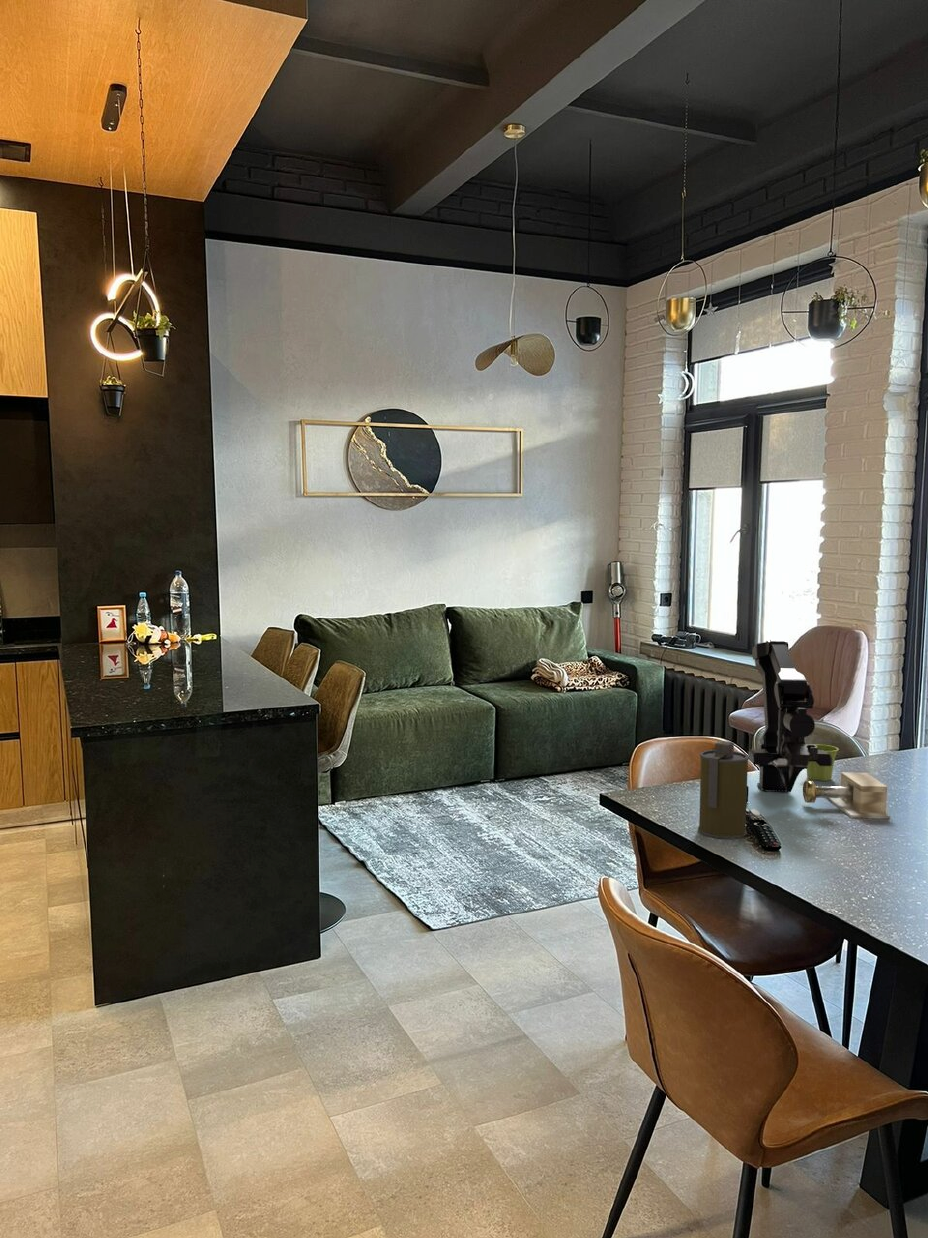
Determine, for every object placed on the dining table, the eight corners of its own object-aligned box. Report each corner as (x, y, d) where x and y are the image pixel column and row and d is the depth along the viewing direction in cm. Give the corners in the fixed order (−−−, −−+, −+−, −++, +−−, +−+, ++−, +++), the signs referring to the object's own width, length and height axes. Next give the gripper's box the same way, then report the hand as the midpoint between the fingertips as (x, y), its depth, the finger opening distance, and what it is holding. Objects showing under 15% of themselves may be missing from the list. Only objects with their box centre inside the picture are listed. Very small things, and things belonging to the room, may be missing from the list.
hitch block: (851, 817, 212) (852, 788, 211) (824, 796, 230) (825, 769, 229) (890, 818, 211) (891, 789, 211) (860, 797, 229) (861, 770, 229)
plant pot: (793, 775, 251) (794, 744, 251) (821, 773, 254) (822, 743, 254) (816, 784, 242) (817, 752, 242) (845, 781, 245) (846, 750, 245)
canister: (709, 821, 208) (712, 736, 206) (753, 831, 201) (756, 742, 200) (689, 833, 200) (691, 744, 198) (734, 843, 193) (737, 751, 191)
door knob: (809, 805, 218) (810, 784, 218) (802, 799, 224) (803, 778, 223) (875, 806, 218) (875, 785, 217) (866, 800, 223) (867, 779, 222)
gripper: (760, 735, 212) (758, 800, 214) (841, 736, 211) (839, 802, 212) (748, 726, 223) (746, 787, 225) (825, 727, 222) (823, 789, 224)
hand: (788, 791), depth 221 cm, fingers closed
